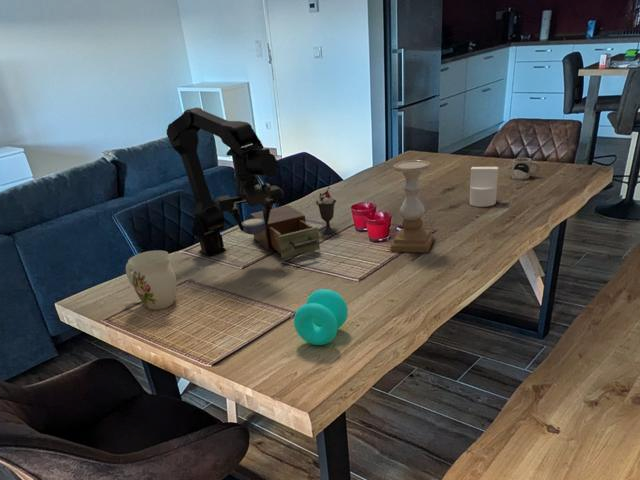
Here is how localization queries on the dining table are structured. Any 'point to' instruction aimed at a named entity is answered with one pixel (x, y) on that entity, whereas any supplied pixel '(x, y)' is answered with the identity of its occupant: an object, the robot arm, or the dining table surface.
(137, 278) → the pitcher
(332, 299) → the teal spool
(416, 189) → the candle holder
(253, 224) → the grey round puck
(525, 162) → the mug
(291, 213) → the cabinet
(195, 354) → the dining table surface
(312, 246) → the drawer
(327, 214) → the sundae
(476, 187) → the cylinder with rectangular tab
